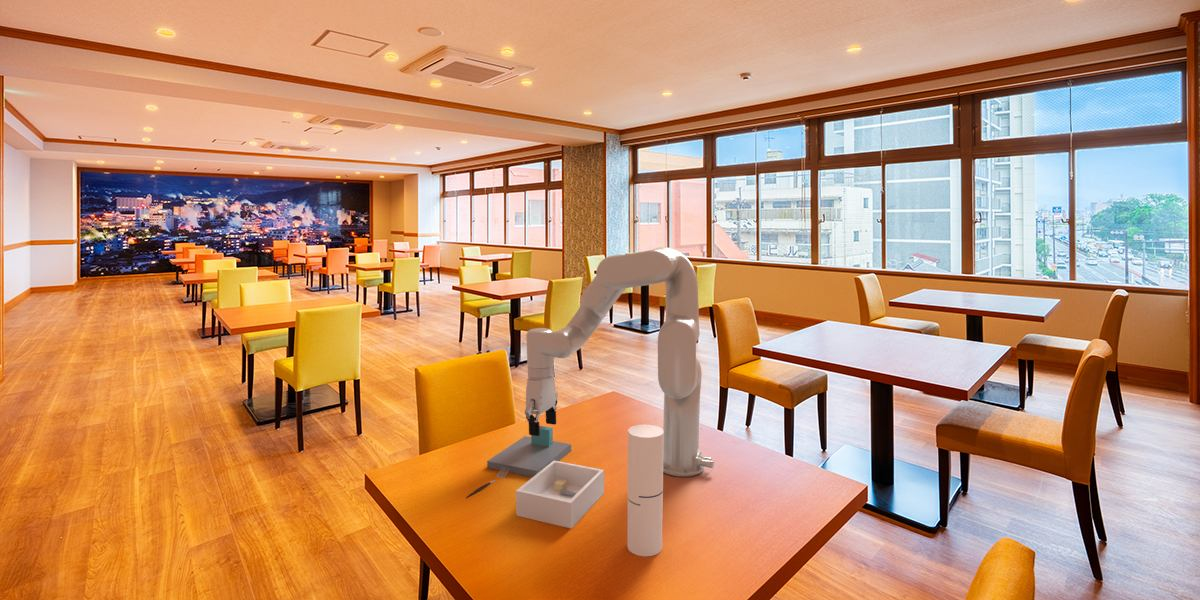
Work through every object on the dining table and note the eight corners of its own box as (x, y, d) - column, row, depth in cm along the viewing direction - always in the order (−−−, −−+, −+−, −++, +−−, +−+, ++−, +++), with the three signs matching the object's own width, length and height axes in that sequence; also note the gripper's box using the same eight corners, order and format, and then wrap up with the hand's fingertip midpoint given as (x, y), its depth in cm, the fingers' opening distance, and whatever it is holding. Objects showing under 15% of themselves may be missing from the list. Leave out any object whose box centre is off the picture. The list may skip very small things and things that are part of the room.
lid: (571, 450, 169) (571, 427, 168) (537, 478, 152) (537, 452, 151) (524, 442, 176) (524, 420, 174) (487, 467, 158) (486, 443, 157)
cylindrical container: (660, 558, 116) (662, 438, 112) (624, 554, 118) (625, 436, 114) (663, 539, 123) (665, 425, 119) (630, 535, 124) (630, 423, 121)
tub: (604, 493, 143) (604, 470, 143) (571, 528, 127) (570, 502, 126) (554, 482, 149) (553, 460, 148) (516, 515, 133) (515, 490, 132)
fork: (461, 498, 142) (461, 491, 141) (502, 473, 155) (502, 466, 155) (470, 501, 140) (469, 493, 140) (510, 475, 154) (510, 468, 154)
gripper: (544, 363, 175) (546, 418, 177) (513, 378, 159) (515, 438, 162) (566, 365, 172) (568, 421, 174) (537, 380, 156) (539, 441, 159)
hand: (543, 429), depth 168 cm, fingers open, 9 cm apart
